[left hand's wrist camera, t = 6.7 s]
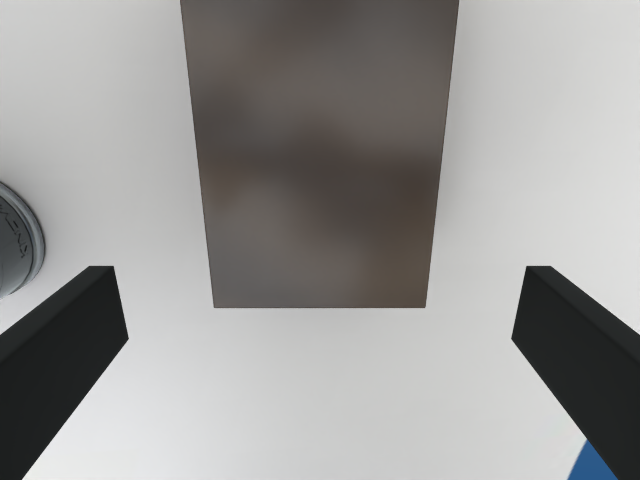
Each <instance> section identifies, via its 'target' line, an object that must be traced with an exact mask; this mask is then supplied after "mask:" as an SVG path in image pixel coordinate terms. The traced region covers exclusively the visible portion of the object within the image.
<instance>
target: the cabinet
mask: <svg viewBox="0 0 640 480" xmlns="http://www.w3.org/2000/svg"><path fill="white" fill-rule="evenodd" d="M180 4H181V13H182V22H183V31H184V40H185V49H186V58H187V67H188V76H189V85H190V94H191V104H192V113H193V122H194V131H195V140H196V149H197V158H198V167H199V176H200V185H201V194H202V203H203V213H204V222H205V231H206V240H207V249H208V258H209V267H210V276H211V285H212V294H213V303H214V308H425V307H426V298H427V289H428V280H429V271H430V262H431V253H432V243H433V234H434V225H435V216H436V207H437V198H438V189H439V180H440V171H441V161H442V152H443V143H444V134H445V125H446V116H447V107H448V98H449V89H450V79H451V70H452V61H453V52H454V43H455V34H456V25H457V16H458V7H459V0H180Z"/></svg>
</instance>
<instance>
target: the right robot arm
mask: <svg viewBox="0 0 640 480" xmlns="http://www.w3.org/2000/svg"><path fill="white" fill-rule="evenodd" d="M43 257H44V242H43V237H42V233H41V230H40V227H39V225H38V223H37V221H36V219H35V217H34V215H33V214H32V212H31V211H30V210H29V208H28V207H27V206H26V204H25V203H24V202H23V201H22V200H21V199H20V198H19V197H18V196H17V195H16V194H15V193H14V192H12V191H11V190H10V189H8V188H7V187H6V186H4V185H3V184H1V183H0V300H1V299H2V298H4V297H5V296H7V295H9V294H11V293H14V292H15V291H17V290H18V289H20V288H21V287H23V286H24V285H26V284H27V283H29V282H30V281H31V280H32V279H33V278H34V277H35V276H36V274H37V273H38V271H39V269H40V267H41V265H42V261H43Z"/></svg>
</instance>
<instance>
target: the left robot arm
mask: <svg viewBox="0 0 640 480" xmlns="http://www.w3.org/2000/svg"><path fill="white" fill-rule="evenodd" d="M128 339H129V338H128V333H127V328H126V323H125V319H124V314H123V309H122V304H121V299H120V295H119V290H118V285H117V280H116V276H115V271H114V266H89V267H87V268H86V269H85V270H84V271H82V272H81V273H80V274H78V275H77V276H76V277H75V278H73V279H72V280H71V281H69V282H68V283H67V284H65V285H64V286H63V287H62V288H60V289H59V290H58V291H56V292H55V293H54V294H53V295H51V296H50V297H49V298H47V299H46V300H45V301H44V302H42V303H41V304H40V305H38V306H37V307H36V308H34V309H33V310H32V311H31V312H29V313H28V314H27V315H25V316H24V317H23V318H22V319H20V320H19V321H18V322H16V323H15V324H14V325H13V326H11V327H10V328H9V329H7V330H6V331H5V332H3V333H2V334H1V335H0V480H22V479H23V477H24V476H25V475H26V473H27V472H28V471H29V469H30V468H31V467H32V466H33V464H34V463H35V462H36V460H37V459H38V458H39V456H40V455H41V454H42V452H43V451H44V450H45V448H46V447H47V446H48V445H49V443H50V442H51V441H52V439H53V438H54V437H55V435H56V434H57V433H58V431H59V430H60V429H61V427H62V426H63V425H64V423H65V422H66V421H67V420H68V418H69V417H70V416H71V414H72V413H73V412H74V410H75V409H76V408H77V406H78V405H79V404H80V402H81V401H82V400H83V398H84V397H85V396H86V395H87V393H88V392H89V391H90V389H91V388H92V387H93V385H94V384H95V383H96V381H97V380H98V379H99V377H100V376H101V375H102V373H103V372H104V371H105V370H106V368H107V367H108V366H109V364H110V363H111V362H112V360H113V359H114V358H115V356H116V355H117V354H118V352H119V351H120V350H121V349H122V347H123V346H124V345H125V343H126V342H127V341H128ZM511 339H512V341H513V342H514V343H515V345H516V346H517V347H518V349H519V350H520V351H521V352H522V354H523V355H524V356H525V358H526V359H527V360H528V362H529V363H530V364H531V366H532V367H533V368H534V370H535V371H536V372H537V373H538V375H539V376H540V377H541V379H542V380H543V381H544V383H545V384H546V385H547V387H548V388H549V389H550V391H551V392H552V393H553V395H554V396H555V397H556V398H557V400H558V401H559V402H560V404H561V405H562V406H563V408H564V409H565V410H566V412H567V413H568V414H569V416H570V417H571V418H572V420H573V421H574V422H575V423H576V425H577V426H578V427H579V429H580V430H581V431H582V433H583V434H584V435H585V437H586V438H587V439H588V441H589V442H590V443H591V444H592V446H593V447H594V448H595V450H596V451H597V452H598V454H599V455H600V456H601V458H602V459H603V460H604V462H605V463H606V464H607V465H608V467H609V468H610V469H611V471H612V472H613V473H614V475H615V476H616V477H617V479H618V480H640V335H639V334H638V333H637V332H635V331H634V330H633V329H631V328H630V327H629V326H627V325H626V324H625V323H624V322H622V321H621V320H620V319H618V318H617V317H616V316H615V315H613V314H612V313H611V312H609V311H608V310H607V309H606V308H604V307H603V306H602V305H600V304H599V303H598V302H596V301H595V300H594V299H593V298H591V297H590V296H589V295H587V294H586V293H585V292H584V291H582V290H581V289H580V288H578V287H577V286H576V285H575V284H573V283H572V282H571V281H569V280H568V279H567V278H565V277H564V276H563V275H562V274H560V273H559V272H558V271H556V270H555V269H554V268H553V267H551V266H526V271H525V276H524V280H523V285H522V290H521V295H520V299H519V304H518V309H517V314H516V319H515V323H514V328H513V333H512V338H511Z"/></svg>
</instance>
